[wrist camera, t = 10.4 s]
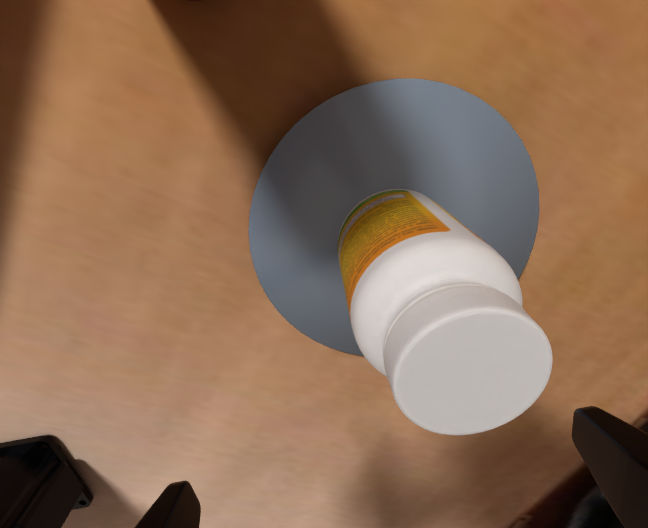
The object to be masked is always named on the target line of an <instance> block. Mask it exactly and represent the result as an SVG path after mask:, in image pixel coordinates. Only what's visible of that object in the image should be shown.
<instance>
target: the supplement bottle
mask: <svg viewBox="0 0 648 528" xmlns="http://www.w3.org/2000/svg"><path fill="white" fill-rule="evenodd" d="M337 251H338V260H339V265H340V269H341V274H342V279H343V284H344V289H345V294H346V300H347V305H348V310H349V316H350V321H351V325H352V330H353V333H354V337H355V340H356V342H357V344H358V346H359V349H360V350H361V352H362V354H363V355H364V357H365V358H366V359H367V361H368V362H369V363H370V364H371V365H372V366H373V367H374V368H375V369H376V370H378V371H379V372H380V373H382V374H383V375H385V376H386V377H388V380H389V383H390V386H391V389H392V392H393V395H394V398H395V401H396V403H397V405H398V406H399V408H400V409H401V411H402V412H403V413H404V414H405V416H407V417H408V418H409V419H410V420H411V421H412V422H414V423H415V424H417V425H419V426H420V427H422V428H424V429H426V430H429V431H432V432H436V433H439V434H447V435H469V434H475V433H480V432H484V431H488V430H491V429H494V428H496V427H499V426H501V425H504V424H506V423H508V422H509V421H511V420H513V419H514V418H516V417H518V416H519V415H520V414H522V413H523V412H524V411H526V410H527V409H528V408H529V407H530V406H531V405H532V404H533V403H534V402H535V401H536V400H537V398H538V397H539V396H540V394H541V393H542V392H543V390H544V388H545V386H546V384H547V382H548V380H549V377H550V374H551V369H552V350H551V346H550V343H549V341H548V338H547V336H546V335H545V333H544V332H543V330H542V329H541V328H540V326H539V325H538V324H537V323H536V322H535V321H534V320H533V319H532V318H531V317H530V316H529V315H528V314H527V313H526V312H525V310H524V309H523V308H522V293H521V289H520V285H519V282H518V280H517V277H516V275H515V273H514V272H513V270H512V268H511V267H510V266H509V264H508V263H507V262H506V260H505V259H504V258H503V257H502V256H501V255H500V254H499V253H498V252H497V251H496V250H494V249H493V248H492V247H491V246H490V245H488V244H487V243H486V242H485V241H483V240H482V239H481V238H480V237H478V236H477V235H476V234H474V233H473V232H472V231H471V230H469V229H468V228H467V227H466V226H464V225H463V224H462V223H461V222H459V221H458V220H457V219H456V218H454V217H453V216H452V215H451V214H450V213H448V212H447V211H446V210H445V209H443V208H442V207H441V206H440V205H438V204H437V203H436V202H434V201H433V200H431V199H430V198H428V197H427V196H425V195H423V194H421V193H419V192H416V191H412V190H408V189H388V190H384V191H380V192H377V193H374V194H372V195H370V196H368V197H366V198H364V199H363V200H362V201H360V202H359V203H358V204H356V205H355V206H354V207H353V208H352V210H351V211H350V212H349V213H348V215H347V216H346V218H345V220H344V221H343V223H342V226H341V228H340V231H339V235H338V241H337Z"/></svg>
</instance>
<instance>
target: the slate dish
mask: <svg viewBox="0 0 648 528" xmlns="http://www.w3.org/2000/svg"><path fill="white" fill-rule="evenodd" d="M388 189H408V190H412V191H416V192H419V193H421V194H423V195H425V196H427V197H428V198H430V199H431V200H433V201H434V202H436V203H437V204H438V205H440V206H441V207H442V208H443V209H445V210H446V211H447V212H448V213H450V214H451V215H452V216H453V217H454V218H456V219H457V220H458V221H459V222H461V223H462V224H463V225H464V226H466V227H467V228H468V229H469V230H471V231H472V232H473V233H474V234H476V235H477V236H478V237H480V238H481V239H482V240H483V241H485V242H486V243H487V244H488V245H490V246H491V247H492V248H493V249H494V250H496V251H497V252H498V253H499V254H500V255H501V256H502V257H503V258H504V259H505V260H506V262H507V263H508V264H509V266H510V267H511V268H512V270H513V272H514V273H515V275H516V277H517V280H518V279H519V277H520V275H521V273H522V271H523V269H524V268H525V266H526V264H527V261H528V259H529V256H530V253H531V251H532V248H533V245H534V241H535V237H536V233H537V228H538V218H539V191H538V185H537V179H536V174H535V171H534V168H533V165H532V162H531V159H530V156H529V154H528V152H527V150H526V148H525V146H524V144H523V142H522V140H521V139H520V137H519V136H518V135H517V133H516V132H515V130H514V129H513V128H512V126H511V125H510V124H509V123H508V122H507V121H506V120H505V119H504V118H503V117H502V116H501V115H500V114H499V113H498V112H497V111H496V110H495V109H494V108H492V107H491V106H490V105H488V104H487V103H485V102H484V101H483V100H481V99H480V98H478V97H476V96H474V95H472V94H470V93H468V92H466V91H464V90H462V89H460V88H457V87H454V86H451V85H448V84H444V83H441V82H436V81H430V80H423V79H391V80H384V81H377V82H372V83H369V84H365V85H362V86H358V87H355V88H352V89H349V90H347V91H345V92H342V93H340V94H338V95H336V96H334V97H331V98H329V99H328V100H326V101H325V102H323V103H322V104H320V105H318V106H317V107H315V108H314V109H312V110H311V111H310V112H309V113H307V114H306V115H305V116H304V117H303V118H301V119H300V120H299V121H298V122H297V123H296V124H295V125H294V126H293V127H292V128H291V129H290V130H289V131H288V133H287V134H286V135H285V136H284V137H283V138H282V139H281V141H280V142H279V144H278V145H277V147H276V148H275V149H274V151H273V152H272V154H271V155H270V157H269V158H268V160H267V162H266V164H265V166H264V168H263V170H262V172H261V174H260V177H259V180H258V182H257V185H256V188H255V191H254V194H253V199H252V204H251V209H250V216H249V242H250V252H251V256H252V260H253V265H254V268H255V271H256V274H257V276H258V279H259V281H260V284H261V286H262V288H263V289H264V291H265V293H266V295H267V297H268V298H269V300H270V301H271V302H272V304H273V305H274V306H275V308H276V309H277V311H278V312H279V313H280V314H281V315H282V316H283V317H284V318H285V319H286V320H287V321H288V322H289V323H290V324H291V325H293V326H294V327H295V328H296V329H298V330H299V331H300V332H301V333H303V334H305V335H306V336H308V337H309V338H311V339H313V340H314V341H316V342H318V343H321V344H323V345H325V346H327V347H329V348H332V349H335V350H339V351H342V352H345V353H350V354H355V355H360V356H364V355H363V354H362V352H361V350H360V349H359V346H358V344H357V342H356V340H355V337H354V333H353V330H352V325H351V321H350V316H349V310H348V305H347V300H346V294H345V289H344V284H343V279H342V274H341V269H340V265H339V260H338V251H337V241H338V235H339V231H340V228H341V226H342V223H343V221H344V220H345V218H346V216H347V215H348V213H349V212H350V211H351V210H352V208H353V207H354V206H355V205H356V204H358V203H359V202H360V201H362V200H363V199H364V198H366V197H368V196H370V195H372V194H374V193H377V192H380V191H384V190H388Z"/></svg>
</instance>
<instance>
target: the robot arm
mask: <svg viewBox="0 0 648 528" xmlns="http://www.w3.org/2000/svg"><path fill="white" fill-rule="evenodd" d="M572 439H573V442H574V444H575V446H576V448H577V450H578V451H579V453H580V455H581V457H582V458H583V460H584V462H585V463H586V465H587V467H588V468H589V470H590V472H591V473H592V475H593V477H594V479H595V480H596V482H597V484H598V485H599V487H600V489H601V490H602V492H603V494H604V496H605V497H606V499H607V501H608V502H609V504H610V506H611V507H612V509H613V511H614V512H615V514H616V515H617V517H618V518H619V520H620V521H621V523H622V524H623V526H624V527H625V528H648V434H647V433H645V432H643V431H641V430H640V429H638V428H636V427H634V426H632V425H630V424H628V423H626V422H624V421H623V420H621V419H619V418H617V417H615V416H613V415H611V414H609V413H608V412H606V411H604V410H602V409H600V408H598V407H595V406H589V407H584V408H578V409H576V410H575V412H574V416H573V426H572ZM92 500H93V496H92V494H91V493H90V491H89V490H88V488H87V487H86V485H85V484H84V483H83V481H82V480H81V478H80V477H79V475H78V474H77V472H76V471H75V470H74V468H73V467H72V465H71V464H70V462H69V461H68V459H67V458H66V457H65V455H64V454H63V452H62V451H61V449H60V448H59V446H58V445H57V444H56V442H55V441H54V439H53V438H51V437H49V436H38V437H32V438H27V439H21V440H16V441H10V442H5V443H0V528H61V527H62V525H63V523H64V522H65V520H66V518H67V517H68V515H69V513H70V512H71V510H73V509H79V508H84V507H88V506H89V505H90V504H91V502H92ZM200 513H201V508H200V503H199V500H198V498H197V496H196V494H195V492H194V490H193V488H192V486H191V484H190V483H189V482H188V481H180V482H175V483H171V484H170V485H169V486H167V487H166V489H165V490H164V491H163V492H162V494H161V495H160V496H159V497H158V499H157V500H156V501H155V502H154V504H153V505H152V506H151V508H150V509H149V510H148V511H147V513H146V514H145V515H144V516H143V518H142V519H141V520H140V521H139V523H138V524H137V525H136V526H135V528H199V523H200Z"/></svg>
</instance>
